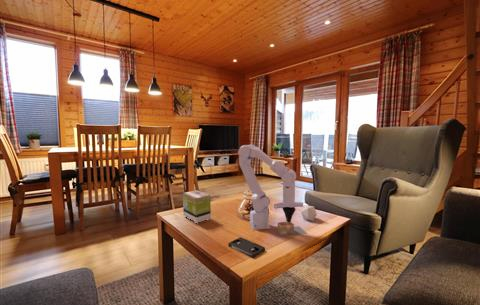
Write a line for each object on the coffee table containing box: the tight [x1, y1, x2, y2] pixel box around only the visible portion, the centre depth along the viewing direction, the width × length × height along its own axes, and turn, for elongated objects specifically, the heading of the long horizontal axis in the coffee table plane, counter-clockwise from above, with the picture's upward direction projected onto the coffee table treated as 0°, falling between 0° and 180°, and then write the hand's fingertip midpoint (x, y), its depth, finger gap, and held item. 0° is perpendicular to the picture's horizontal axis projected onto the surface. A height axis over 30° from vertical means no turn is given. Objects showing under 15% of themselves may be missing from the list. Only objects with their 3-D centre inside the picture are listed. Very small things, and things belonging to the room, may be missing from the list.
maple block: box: [277, 221, 295, 234], centre depth 114 cm, size 4×4×7 cm
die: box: [300, 205, 317, 222], centre depth 130 cm, size 8×9×10 cm
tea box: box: [182, 189, 212, 224], centre depth 133 cm, size 15×10×15 cm, turn 42°
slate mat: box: [273, 226, 308, 238], centre depth 115 cm, size 14×9×1 cm, turn 102°
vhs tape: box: [227, 236, 266, 259], centre depth 99 cm, size 14×8×2 cm, turn 47°
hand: (288, 221), depth 114 cm, fingers closed
